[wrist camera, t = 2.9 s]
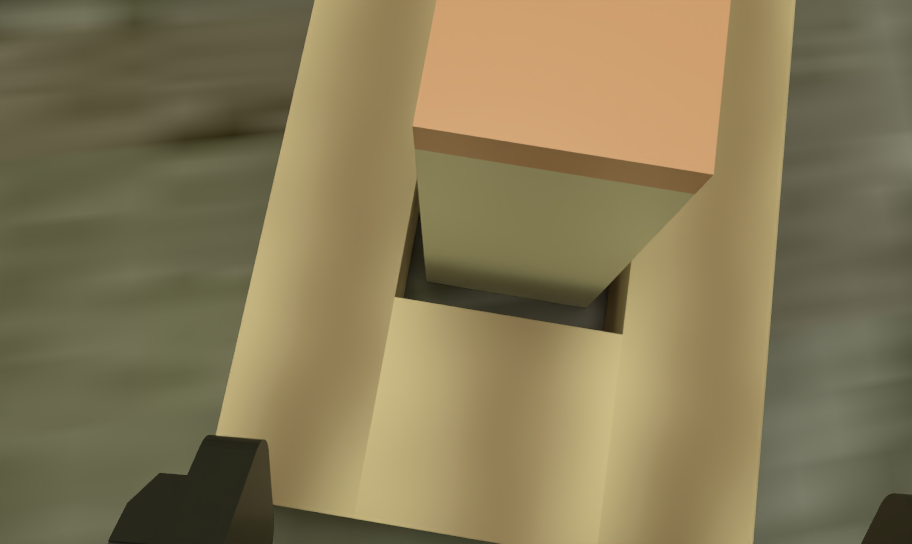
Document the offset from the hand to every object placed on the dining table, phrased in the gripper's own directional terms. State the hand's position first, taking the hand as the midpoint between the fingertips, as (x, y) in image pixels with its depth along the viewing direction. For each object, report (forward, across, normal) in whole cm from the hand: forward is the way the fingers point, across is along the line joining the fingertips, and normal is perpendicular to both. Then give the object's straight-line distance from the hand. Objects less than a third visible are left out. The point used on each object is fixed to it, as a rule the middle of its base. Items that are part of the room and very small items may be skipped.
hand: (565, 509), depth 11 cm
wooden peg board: (+15, 0, +4) cm, 15 cm away
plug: (+15, 0, +4) cm, 15 cm away
